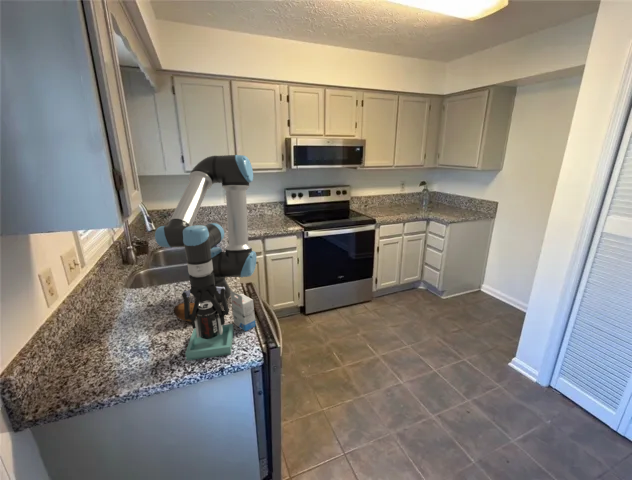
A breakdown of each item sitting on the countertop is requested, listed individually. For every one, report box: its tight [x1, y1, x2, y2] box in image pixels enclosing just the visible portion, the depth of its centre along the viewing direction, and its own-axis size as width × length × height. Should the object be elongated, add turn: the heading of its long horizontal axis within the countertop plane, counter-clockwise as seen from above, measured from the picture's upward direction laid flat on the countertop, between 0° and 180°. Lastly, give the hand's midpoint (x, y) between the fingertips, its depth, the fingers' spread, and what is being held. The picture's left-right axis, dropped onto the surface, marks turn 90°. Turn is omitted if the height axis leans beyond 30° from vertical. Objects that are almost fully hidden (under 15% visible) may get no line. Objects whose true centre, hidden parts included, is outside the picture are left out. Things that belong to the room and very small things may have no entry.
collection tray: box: [184, 323, 235, 362], centre depth 103 cm, size 14×14×3 cm
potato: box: [172, 302, 197, 323], centre depth 118 cm, size 8×13×8 cm
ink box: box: [230, 290, 256, 332], centre depth 112 cm, size 8×5×15 cm, turn 47°
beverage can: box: [196, 301, 219, 339], centre depth 100 cm, size 7×7×12 cm
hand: (210, 333), depth 102 cm, fingers closed on beverage can, 7 cm apart
